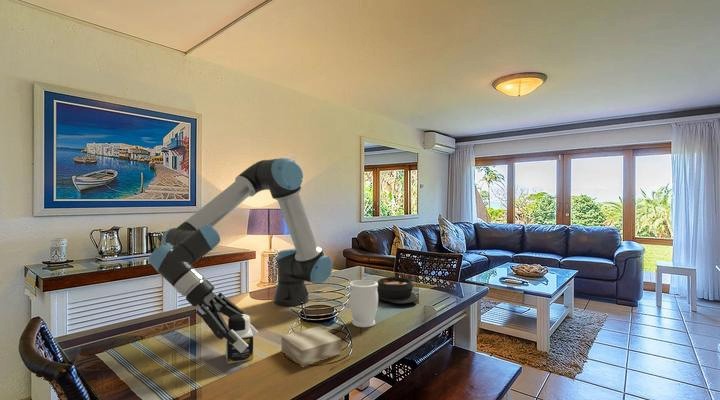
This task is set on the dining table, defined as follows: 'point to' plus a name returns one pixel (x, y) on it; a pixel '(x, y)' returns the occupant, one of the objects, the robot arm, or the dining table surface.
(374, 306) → the jar
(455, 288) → the dining table surface
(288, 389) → the dining table surface
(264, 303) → the dining table surface
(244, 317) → the medicine bottle
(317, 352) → the birch block
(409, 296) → the casserole
